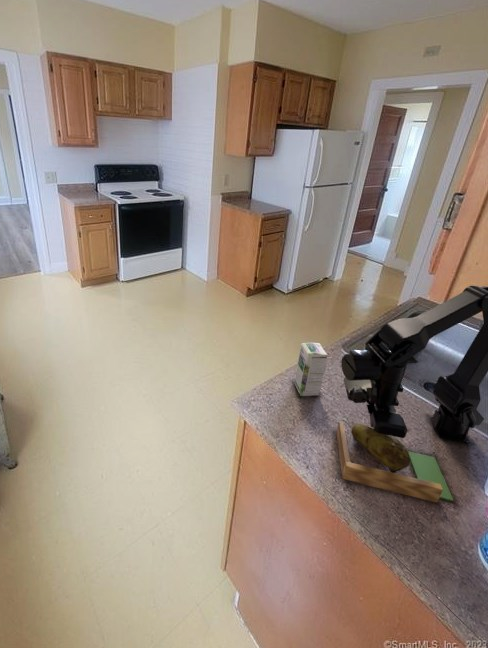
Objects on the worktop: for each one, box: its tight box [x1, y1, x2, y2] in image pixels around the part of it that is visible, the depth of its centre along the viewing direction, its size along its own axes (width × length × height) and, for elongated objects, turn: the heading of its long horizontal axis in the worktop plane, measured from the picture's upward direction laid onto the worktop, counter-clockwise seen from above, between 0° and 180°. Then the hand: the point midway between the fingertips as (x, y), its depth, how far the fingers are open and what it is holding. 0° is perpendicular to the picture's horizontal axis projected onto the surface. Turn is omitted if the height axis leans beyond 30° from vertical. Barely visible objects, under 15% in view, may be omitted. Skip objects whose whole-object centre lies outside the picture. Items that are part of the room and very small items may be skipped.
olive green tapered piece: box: [350, 423, 411, 474], centre depth 73 cm, size 8×13×8 cm, turn 3°
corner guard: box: [335, 421, 443, 503], centre depth 72 cm, size 18×12×4 cm
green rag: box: [407, 450, 454, 502], centre depth 71 cm, size 6×10×1 cm, turn 165°
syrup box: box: [293, 342, 329, 397], centre depth 92 cm, size 6×6×14 cm
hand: (372, 426), depth 79 cm, fingers closed
